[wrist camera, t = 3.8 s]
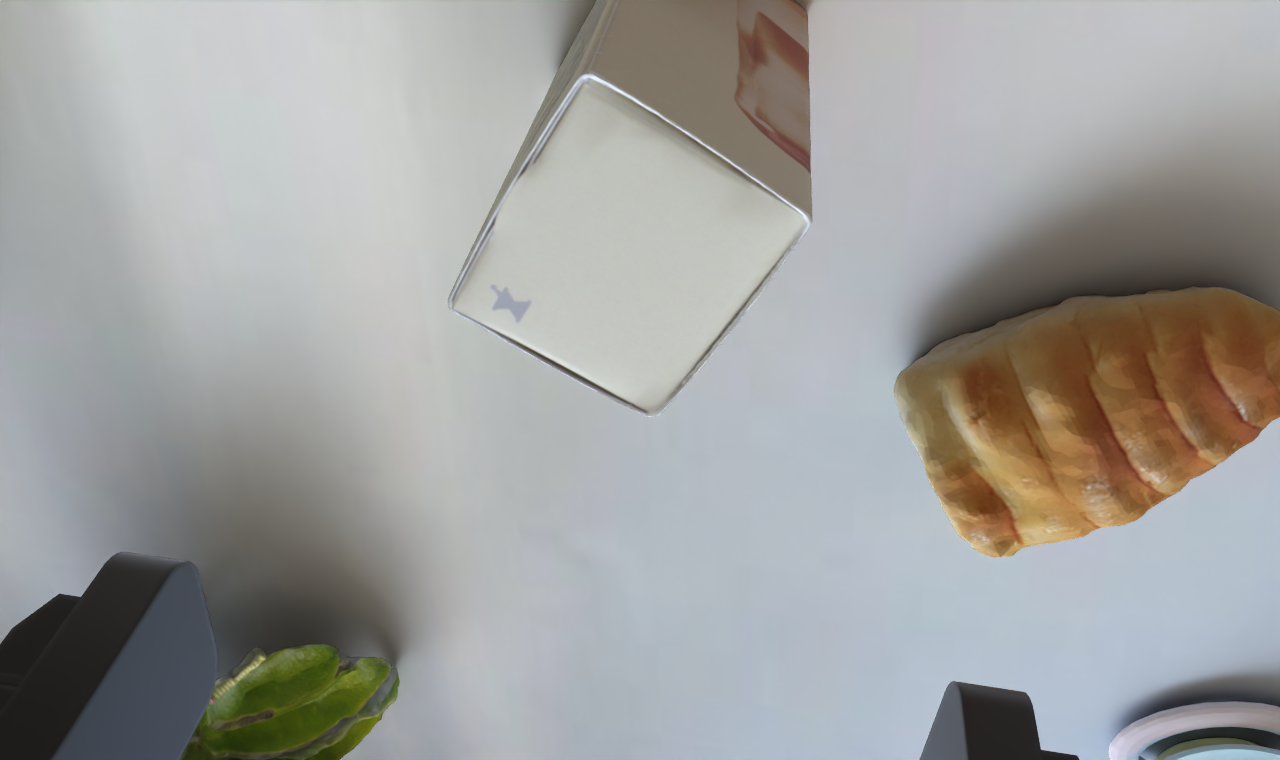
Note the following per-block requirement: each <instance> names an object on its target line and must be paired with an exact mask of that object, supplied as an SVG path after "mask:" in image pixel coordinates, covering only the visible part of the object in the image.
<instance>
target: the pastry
mask: <svg viewBox="0 0 1280 760" xmlns="http://www.w3.org/2000/svg"><path fill="white" fill-rule="evenodd" d="M894 396H895V399H896V403H897V405H898V409H899V413H900V417H901V420H902V422H903V424H904V426H905V428H906V431H907V434H908V437H909V439H910V440H911V441H912V443H913V444H914V445H915V447H916V448H917V451H918V454H919V456H920V458H921V460H922V462H923V464H924V466H925V470H926V473H927V476H928V479H929V482H930V484H931V487H933V489H934V491H935V493H936V494H937V496H938V498H939V502H940V504H941V506H942V508H943V510H944V511H945V513H946V514H947V516H948V518H949V520H950V522H951V524H952V526H953V528H954V529H955V531H956V532H957V534H958V535H959V536H960V537H961V538H963V539H964V540H966V541H968V542H969V544H970V545H971V546H972V548H974V549H975V550H977V551H978V552H980V553H982V554H984V555H987V556H991V557H1002V556H1007V557H1009V556H1012V555H1014V554H1015V553H1016V552H1017V551H1019V550H1020V549H1021V548H1025V547H1028V546H1033V545H1039V544H1046V543H1054V542H1059V541H1063V540H1068V539H1075V538H1078V537H1082V536H1085V535H1087V534H1089V533H1090V532H1091V531H1093V530H1096V529H1098V528H1101V527H1110V526H1120V525H1124V524H1127V523H1130V522H1133V521H1135V520H1137V519H1138V518H1140V517H1141V516H1143V515H1144V514H1145V513H1146V511H1147V510H1149V509H1150V508H1152V507H1153V506H1155V505H1157V504H1158V503H1160V502H1161V501H1163V500H1164V499H1166V498H1168V497H1170V496H1172V495H1174V494H1175V493H1177V492H1179V491H1180V490H1181V489H1182V488H1183V487H1184V486H1185V485H1186V484H1187V483H1188V482H1189V481H1190V479H1193V478H1195V477H1197V476H1200V475H1202V474H1203V473H1205V472H1207V471H1209V470H1210V469H1212V468H1214V467H1216V465H1217V464H1219V463H1221V462H1224V461H1225V460H1226V459H1227V458H1228V457H1229V456H1231V455H1232V454H1233V453H1234V452H1235V451H1237V450H1238V449H1239V448H1241V447H1243V446H1245V445H1247V444H1248V443H1250V442H1252V441H1253V440H1255V439H1256V438H1257V437H1258V435H1259V434H1260V432H1261V431H1262V430H1263V429H1264V428H1265V427H1266V426H1267V425H1268V424H1269V423H1270V422H1271V421H1273V420H1275V419H1277V418H1279V417H1280V310H1278V309H1276V308H1274V307H1271V306H1269V305H1266V304H1264V303H1261V302H1259V301H1257V300H1255V299H1253V298H1251V297H1249V296H1246V295H1244V294H1242V293H1239V292H1237V291H1234V290H1232V289H1228V288H1221V287H1208V288H1201V287H1195V286H1191V287H1189V288H1186V289H1182V290H1178V291H1169V290H1162V289H1156V290H1150V291H1149V292H1147V293H1146V294H1136V295H1130V296H1116V297H1108V296H1103V295H1087V296H1077V297H1071V298H1067V299H1066V300H1064V301H1062V302H1061V303H1060V304H1059V305H1058V306H1050V307H1046V308H1040V309H1035V310H1032V311H1029V312H1027V313H1024V314H1022V315H1019V316H1017V317H1013V318H1009V319H1004V320H1001V321H998V323H997V324H996V325H994V326H992V327H989V328H985V329H982V330H980V331H977V332H974V333H965V334H962V335H960V336H957V337H955V338H952V339H949V340H946V341H944V342H942V343H940V344H938V345H937V346H935V347H934V348H932V349H931V350H930V351H929V352H928V353H927V354H926V355H925V356H924V357H922V358H919V359H917V360H916V361H915V362H914V363H913V364H912V365H910V366H909V367H907V368H906V369H904V370H903V371H901V372H900V374H899V375H898V377H897V380H896V383H895V386H894Z"/></svg>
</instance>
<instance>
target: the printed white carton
mask: <svg viewBox="0 0 1280 760" xmlns="http://www.w3.org/2000/svg"><path fill="white" fill-rule="evenodd" d="M809 95H810V89H809V39H808V15H807V12H806V11H805V10H804V9H803V8H802V7H801V6H800V5H798V4H797V3H796V2H794V1H793V0H596V2H595V4H594V6H593V7H592V9H591V11H590V13H589V15H588V17H587V18H586V20H585V22H584V24H583V26H582V27H581V29H580V31H579V33H578V35H577V36H576V38H575V40H574V42H573V44H572V45H571V47H570V49H569V51H568V53H567V55H566V57H565V58H564V60H563V62H562V64H561V66H560V68H559V70H558V72H557V73H556V75H555V77H554V80H553V82H552V84H551V86H550V88H549V90H548V92H547V94H546V96H545V99H544V101H543V103H542V105H541V107H540V109H539V111H538V113H537V115H536V117H535V119H534V121H533V123H532V125H531V127H530V129H529V132H528V134H527V136H526V138H525V140H524V142H523V144H522V146H521V148H520V150H519V152H518V154H517V157H516V159H515V161H514V163H513V165H512V167H511V169H510V170H509V172H508V174H507V176H506V178H505V180H504V183H503V185H502V187H501V189H500V191H499V193H498V195H497V197H496V200H495V202H494V204H493V206H492V208H491V210H490V212H489V214H488V216H487V218H486V220H485V222H484V224H483V226H482V228H481V230H480V232H479V234H478V236H477V238H476V240H475V242H474V244H473V246H472V249H471V251H470V253H469V255H468V257H467V259H466V261H465V263H464V265H463V267H462V270H461V272H460V274H459V276H458V278H457V280H456V283H455V285H454V287H453V289H452V291H451V293H450V296H449V298H448V307H449V308H450V309H451V310H452V311H454V312H455V313H456V314H458V315H460V316H461V317H463V318H465V319H467V320H468V321H470V322H472V323H474V324H476V325H478V326H479V327H481V328H483V329H485V330H486V331H488V332H490V333H492V334H494V335H495V336H497V337H498V338H500V339H502V340H504V341H506V342H508V343H509V344H511V345H513V346H515V347H517V348H518V349H520V350H522V351H523V352H525V353H527V354H529V355H530V356H532V357H534V358H536V359H537V360H538V361H540V362H543V363H545V364H546V365H548V366H550V367H552V368H554V369H556V370H557V371H559V372H561V373H563V374H565V375H567V376H569V377H570V378H572V379H574V380H576V381H577V382H579V383H581V384H582V385H584V386H586V387H588V388H590V389H592V390H594V391H596V392H598V393H600V394H603V395H604V396H606V397H608V398H610V399H612V400H614V401H616V402H618V403H620V404H623V405H625V406H627V407H629V408H631V409H633V410H635V411H637V412H639V413H640V414H643V415H645V416H647V417H657V416H658V415H659V414H661V413H662V412H663V410H664V409H665V408H666V407H667V406H668V405H669V404H670V403H671V402H672V401H673V400H674V399H675V397H676V396H677V395H678V394H679V393H680V391H681V390H682V389H683V388H684V387H685V386H686V385H687V384H688V383H689V381H690V380H691V379H692V378H693V377H694V376H695V374H696V373H697V372H698V371H699V370H700V369H701V368H702V366H703V365H704V364H705V363H706V362H707V361H708V359H709V358H710V357H711V355H712V354H713V353H714V352H715V351H716V350H717V349H718V348H719V346H720V345H721V344H722V343H723V341H724V340H725V339H726V338H727V336H728V335H729V334H730V332H731V331H732V330H733V329H734V328H735V326H736V325H737V324H738V322H739V321H740V320H741V319H742V317H743V316H744V315H745V313H746V312H747V311H748V310H749V308H750V307H751V306H752V304H753V303H754V302H755V301H756V300H757V299H758V297H759V296H760V295H761V293H762V292H763V291H764V289H765V288H766V287H767V285H768V284H769V283H770V281H771V280H772V279H773V277H774V276H775V275H776V273H777V272H778V271H779V269H780V268H781V266H782V265H783V264H784V262H785V261H786V259H787V258H788V257H789V255H790V254H791V252H792V251H793V250H794V248H795V247H796V246H797V244H798V243H799V241H800V239H801V238H802V236H803V235H804V234H805V233H806V231H807V230H808V228H809V227H810V225H811V223H812V197H811V170H810V150H811V140H810V97H809Z"/></svg>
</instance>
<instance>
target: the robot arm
mask: <svg viewBox="0 0 1280 760" xmlns="http://www.w3.org/2000/svg"><path fill="white" fill-rule="evenodd" d="M217 669H218V652H217V647H216V643H215V639H214V635H213V630H212V626H211V622H210V618H209V614H208V610H207V606H206V602H205V597H204V593H203V589H202V585H201V581H200V577H199V573H198V570H197V568H196V566H195V565H194V564H193V563H191V562H189V561H182V560H176V559H169V558H163V557H156V556H149V555H143V554H136V553H130V552H120V553H117V554H115V555H114V556H112V557H111V558H110V559H109V560H108V561H107V562H106V563H105V565H104V566H103V567H102V568H101V570H100V571H99V573H98V574H97V576H96V577H95V578H94V580H93V581H92V583H91V584H90V585H89V587H88V588H87V590H86V591H85V592H84V594H83V595H82V597H77V596H70V595H64V594H58V595H57V596H56V597H54V598H53V599H52V600H50V601H49V602H48V603H46V604H45V605H43V606H42V607H41V608H39V609H38V610H37V611H35V612H34V613H33V614H31V615H30V616H29V617H27V618H26V619H24V620H23V621H22V622H20V623H19V624H18V625H16V626H15V627H14V628H12V629H11V631H10V632H9V633H8V635H7V636H6V637H5V639H4V640H3V641H2V643H1V644H0V760H179V759H180V757H181V755H182V754H183V752H184V750H185V748H186V746H187V744H188V742H189V740H190V739H191V737H192V735H193V733H194V731H195V729H196V727H197V725H198V724H199V722H200V720H201V718H202V716H203V714H204V712H205V710H206V708H207V706H208V704H209V701H210V699H211V696H212V693H213V690H214V686H215V682H216V677H217ZM920 760H1079V758H1078V757H1077V756H1076V755H1070V754H1063V753H1057V752H1051V751H1044V750H1041V749H1040V743H1039V737H1038V732H1037V726H1036V720H1035V715H1034V710H1033V705H1032V703H1031V700H1030V698H1029V696H1028V695H1027V694H1026V693H1025V692H1021V691H1014V690H1007V689H1001V688H994V687H988V686H981V685H975V684H968V683H962V682H955V681H953V682H951V683H950V684H949V685H948V687H947V689H946V691H945V693H944V696H943V699H942V701H941V704H940V707H939V709H938V712H937V715H936V717H935V720H934V723H933V725H932V728H931V731H930V733H929V736H928V739H927V741H926V744H925V747H924V749H923V752H922V755H921V757H920Z"/></svg>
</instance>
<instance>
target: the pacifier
mask: <svg viewBox="0 0 1280 760" xmlns="http://www.w3.org/2000/svg"><path fill="white" fill-rule="evenodd" d="M1211 727H1245V728H1254V729H1259V730H1264V731H1269V732H1272V733H1275V734H1278V735H1280V707H1278V706H1273V705H1268V704H1263V703H1252V702H1237V701H1228V702H1206V703H1199V704H1192V705H1185V706H1180V707H1176V708H1172V709H1168V710H1164V711H1160V712H1157V713H1154V714H1152V715H1149V716H1147V717H1144V718H1142V719H1139V720H1137V721H1135V722H1133V723H1131V724H1130V725H1128V726H1127V727H1125V728H1124V729H1122V730H1121V731H1119V733H1118V734H1117V735H1116V736H1115V737H1114V739H1113V740H1112V741H1111V743H1110V748H1109V753H1108V755H1109V757H1110V759H1111V760H1145V759H1144V758H1142V757H1141V756H1139V755H1140V754H1141V753H1142V752H1143V751H1144V750H1145V748H1147V747H1148V746H1150V745H1152V744H1153V743H1155V742H1157V741H1159V740H1162V739H1164V738H1167V737H1169V736H1172V735H1175V734H1179V733H1183V732H1187V731H1191V730H1197V729H1204V728H1211ZM1155 760H1280V748H1279V749H1278V750H1275V749H1271V748H1266V747H1261V746H1259V745H1256V744H1254V743H1252V742H1249V741H1245V740H1241V739H1236V738H1205V739H1198V740H1192V741H1187V742H1183V743H1180V744H1177V745H1175V746H1172V747H1171V748H1169V749H1167V750H1165V751H1164V752H1163V753H1161V754H1160V755H1159V756H1158V757H1157V758H1156V759H1155Z"/></svg>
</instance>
